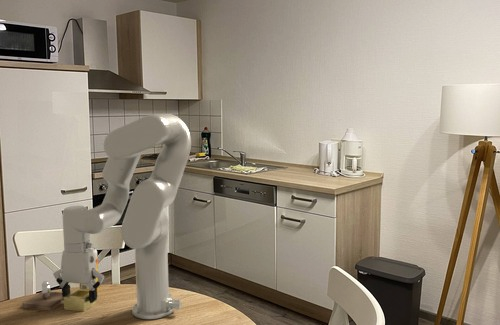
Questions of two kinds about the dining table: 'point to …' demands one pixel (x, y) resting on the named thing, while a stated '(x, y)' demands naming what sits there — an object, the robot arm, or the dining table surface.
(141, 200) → the robot arm
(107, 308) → the dining table surface
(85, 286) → the beer can
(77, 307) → the square wooden frame
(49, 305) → the keeper block
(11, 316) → the dining table surface
